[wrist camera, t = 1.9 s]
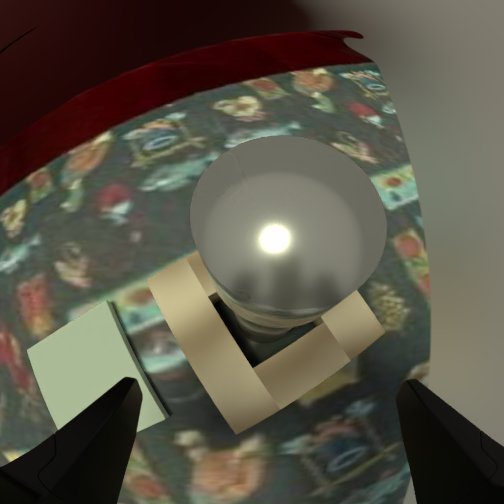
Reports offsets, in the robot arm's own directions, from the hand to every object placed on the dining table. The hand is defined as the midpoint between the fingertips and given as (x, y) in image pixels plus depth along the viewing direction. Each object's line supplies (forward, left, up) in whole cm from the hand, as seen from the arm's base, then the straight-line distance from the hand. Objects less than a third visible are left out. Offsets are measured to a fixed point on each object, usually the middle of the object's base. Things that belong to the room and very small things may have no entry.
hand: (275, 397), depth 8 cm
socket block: (+4, -3, -11) cm, 12 cm away
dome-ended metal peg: (+4, -3, -11) cm, 12 cm away
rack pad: (+6, +12, -11) cm, 18 cm away
